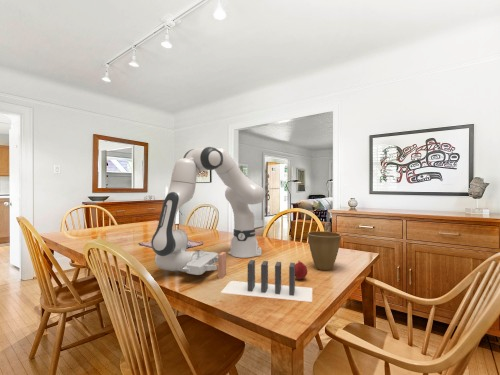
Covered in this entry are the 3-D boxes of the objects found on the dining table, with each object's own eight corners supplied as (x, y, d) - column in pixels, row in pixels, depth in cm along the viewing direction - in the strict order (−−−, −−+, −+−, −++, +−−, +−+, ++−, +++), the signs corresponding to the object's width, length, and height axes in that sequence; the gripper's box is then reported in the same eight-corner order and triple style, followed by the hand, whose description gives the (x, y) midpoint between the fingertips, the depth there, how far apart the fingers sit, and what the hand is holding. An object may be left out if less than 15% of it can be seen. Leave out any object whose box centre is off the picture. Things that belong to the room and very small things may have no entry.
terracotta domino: (222, 274, 114) (222, 251, 114) (226, 275, 114) (225, 252, 114) (218, 279, 110) (218, 254, 109) (222, 279, 109) (222, 255, 109)
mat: (230, 281, 107) (230, 280, 107) (312, 288, 99) (312, 287, 99) (220, 293, 95) (220, 292, 95) (312, 302, 87) (312, 301, 87)
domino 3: (276, 288, 99) (276, 261, 99) (281, 288, 98) (281, 261, 98) (275, 293, 94) (274, 265, 94) (279, 294, 94) (279, 266, 93)
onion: (305, 277, 111) (305, 258, 111) (308, 282, 105) (308, 262, 105) (291, 277, 111) (291, 258, 111) (294, 282, 105) (294, 262, 105)
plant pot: (343, 274, 114) (343, 237, 114) (307, 272, 117) (307, 236, 117) (338, 264, 129) (338, 231, 129) (307, 262, 132) (307, 230, 132)
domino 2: (263, 287, 100) (263, 260, 100) (267, 287, 100) (267, 261, 99) (261, 292, 95) (261, 264, 95) (265, 292, 95) (265, 265, 95)
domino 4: (290, 289, 98) (290, 262, 97) (294, 290, 97) (294, 262, 97) (289, 295, 93) (289, 266, 93) (293, 295, 92) (293, 267, 92)
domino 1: (250, 286, 101) (250, 259, 101) (255, 286, 101) (254, 260, 101) (247, 291, 96) (247, 263, 96) (251, 291, 96) (251, 264, 96)
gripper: (179, 261, 105) (211, 263, 102) (200, 248, 125) (228, 250, 122) (179, 277, 105) (211, 280, 102) (200, 262, 125) (228, 264, 122)
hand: (221, 264), depth 112 cm, fingers open, 8 cm apart
